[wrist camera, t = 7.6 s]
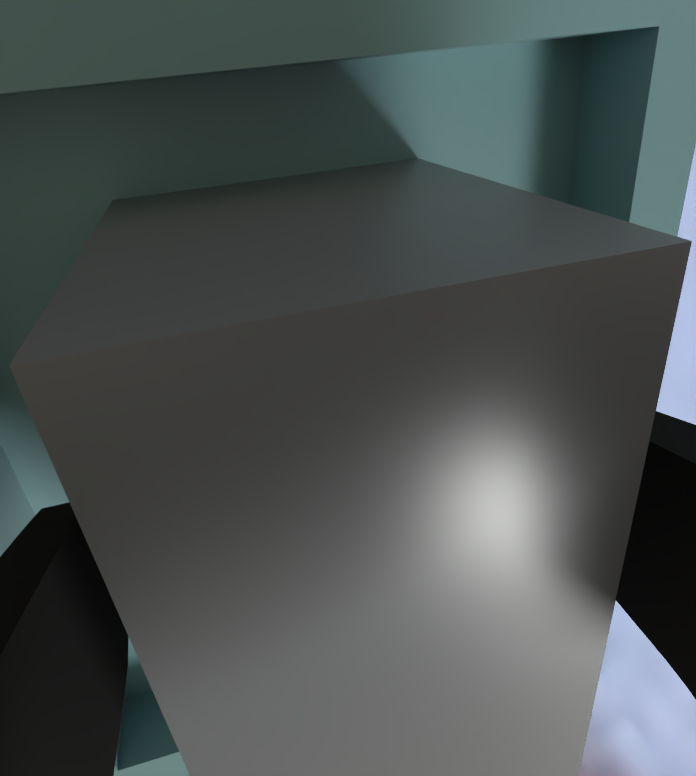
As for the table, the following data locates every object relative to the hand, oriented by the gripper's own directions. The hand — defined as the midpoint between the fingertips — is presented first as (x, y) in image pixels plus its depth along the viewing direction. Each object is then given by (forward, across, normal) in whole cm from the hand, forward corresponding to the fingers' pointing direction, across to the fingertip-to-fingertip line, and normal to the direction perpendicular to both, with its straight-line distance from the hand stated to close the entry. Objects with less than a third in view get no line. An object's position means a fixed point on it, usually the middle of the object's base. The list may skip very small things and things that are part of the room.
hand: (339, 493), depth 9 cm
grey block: (+3, 0, 0) cm, 3 cm away
